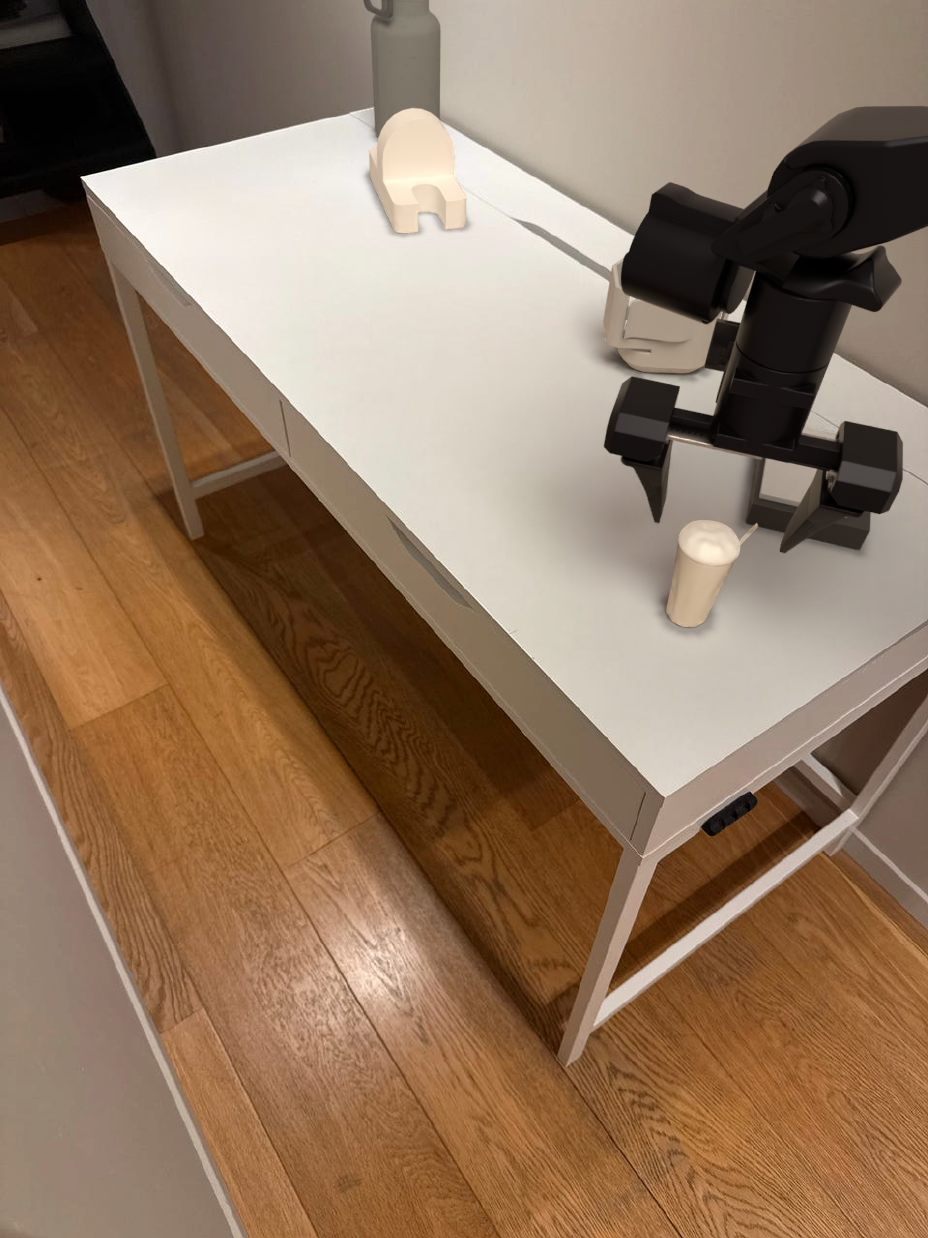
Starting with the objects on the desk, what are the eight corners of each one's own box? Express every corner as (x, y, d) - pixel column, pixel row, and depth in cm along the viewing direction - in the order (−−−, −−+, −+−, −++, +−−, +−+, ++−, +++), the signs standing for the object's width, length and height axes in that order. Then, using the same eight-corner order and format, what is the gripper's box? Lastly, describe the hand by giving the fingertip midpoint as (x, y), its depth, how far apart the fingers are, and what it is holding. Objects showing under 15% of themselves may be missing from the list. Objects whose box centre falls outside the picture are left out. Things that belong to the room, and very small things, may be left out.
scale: (864, 461, 86) (876, 436, 84) (859, 550, 78) (872, 525, 75) (760, 438, 88) (769, 413, 85) (745, 523, 79) (754, 498, 77)
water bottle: (398, 153, 129) (392, -87, 108) (360, 131, 134) (347, -103, 113) (452, 137, 134) (457, -97, 112) (413, 116, 138) (411, -112, 117)
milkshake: (728, 635, 71) (764, 546, 63) (661, 633, 71) (689, 544, 63) (718, 593, 74) (751, 504, 66) (654, 591, 74) (680, 501, 66)
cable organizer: (598, 343, 98) (615, 237, 89) (709, 349, 98) (738, 243, 89) (601, 378, 94) (620, 271, 84) (719, 384, 94) (750, 277, 84)
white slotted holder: (434, 168, 126) (435, 85, 118) (467, 227, 115) (470, 138, 107) (368, 174, 124) (364, 89, 116) (395, 233, 113) (392, 144, 105)
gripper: (941, 310, 57) (853, 494, 69) (654, 258, 60) (617, 442, 72) (946, 408, 50) (847, 594, 62) (621, 342, 53) (586, 530, 65)
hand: (719, 533), depth 65 cm, fingers open, 9 cm apart
